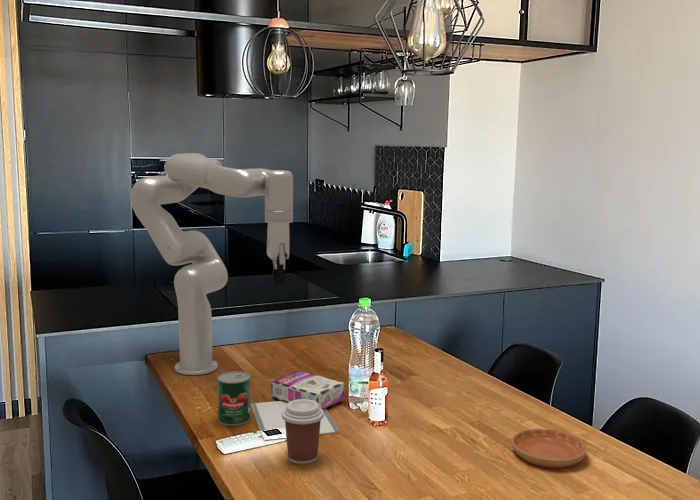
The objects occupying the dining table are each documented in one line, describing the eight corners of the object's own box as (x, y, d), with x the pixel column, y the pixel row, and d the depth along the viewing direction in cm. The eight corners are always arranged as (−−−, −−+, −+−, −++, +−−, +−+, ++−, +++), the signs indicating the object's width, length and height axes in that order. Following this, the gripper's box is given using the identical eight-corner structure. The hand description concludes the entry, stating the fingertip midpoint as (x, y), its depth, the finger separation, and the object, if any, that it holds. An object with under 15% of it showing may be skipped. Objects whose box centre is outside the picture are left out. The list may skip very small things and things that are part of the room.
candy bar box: (271, 398, 182) (316, 413, 172) (270, 380, 181) (316, 394, 171) (300, 386, 191) (345, 399, 180) (299, 369, 190) (345, 381, 180)
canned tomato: (225, 428, 164) (225, 384, 162) (213, 417, 170) (212, 374, 168) (256, 421, 168) (255, 378, 166) (242, 410, 174) (241, 369, 173)
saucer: (497, 456, 152) (498, 443, 151) (532, 433, 163) (533, 422, 163) (565, 480, 141) (566, 467, 141) (597, 455, 153) (598, 442, 152)
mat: (250, 405, 178) (250, 403, 178) (318, 398, 183) (318, 397, 183) (263, 441, 157) (263, 438, 157) (339, 432, 162) (339, 430, 162)
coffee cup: (332, 457, 149) (332, 405, 147) (300, 471, 143) (300, 417, 141) (305, 444, 156) (305, 393, 154) (273, 456, 150) (272, 404, 148)
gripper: (261, 213, 191) (261, 278, 194) (268, 220, 176) (269, 289, 179) (288, 213, 193) (288, 277, 196) (297, 219, 178) (297, 288, 181)
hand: (279, 283), depth 187 cm, fingers closed
